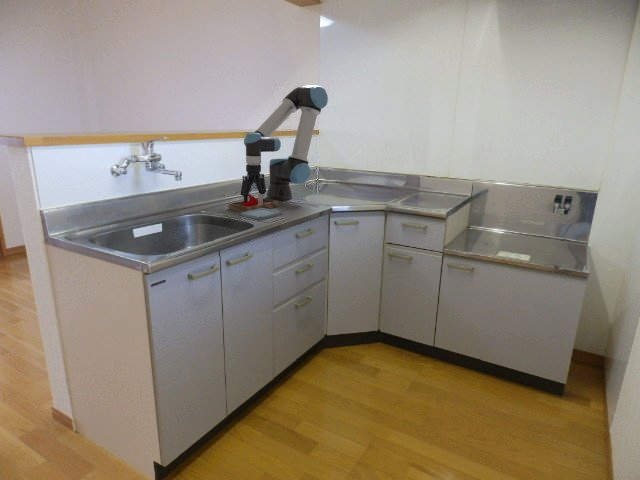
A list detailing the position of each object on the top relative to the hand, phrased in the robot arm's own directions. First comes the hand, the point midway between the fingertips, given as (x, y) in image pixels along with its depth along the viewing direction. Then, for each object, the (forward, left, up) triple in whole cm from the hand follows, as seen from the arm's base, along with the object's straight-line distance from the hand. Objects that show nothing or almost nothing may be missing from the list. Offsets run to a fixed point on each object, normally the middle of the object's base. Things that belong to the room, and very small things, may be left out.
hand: (253, 207), depth 220 cm
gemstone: (+4, +1, -1) cm, 4 cm away
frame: (0, 0, 0) cm, 0 cm away
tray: (+10, +14, 0) cm, 17 cm away
